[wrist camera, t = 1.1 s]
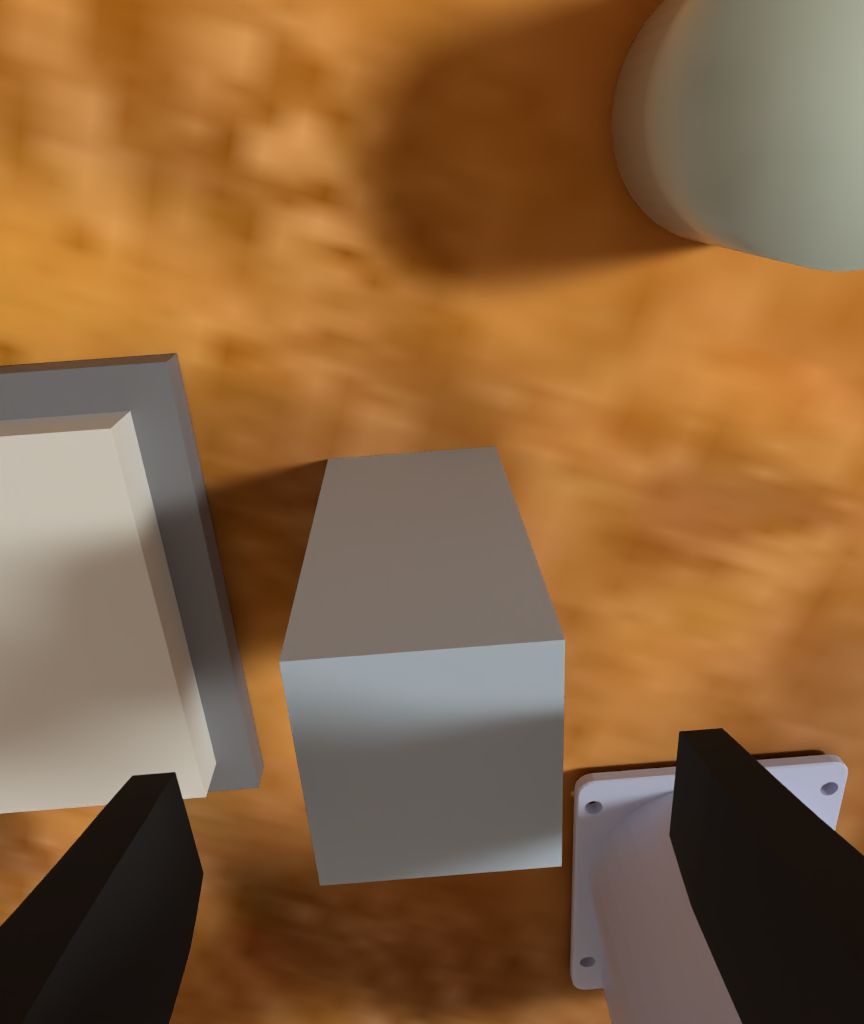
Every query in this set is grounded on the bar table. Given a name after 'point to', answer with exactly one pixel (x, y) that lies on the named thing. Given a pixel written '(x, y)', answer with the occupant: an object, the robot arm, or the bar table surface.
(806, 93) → the grey cylinder
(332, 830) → the carton
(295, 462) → the bar table surface
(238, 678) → the display podium
